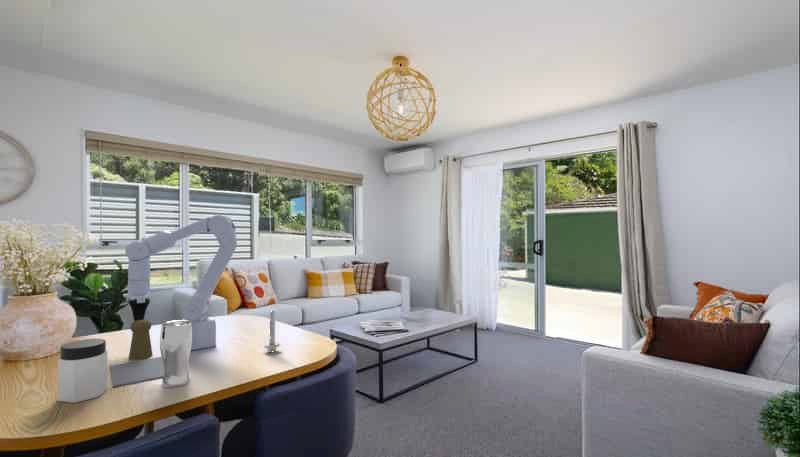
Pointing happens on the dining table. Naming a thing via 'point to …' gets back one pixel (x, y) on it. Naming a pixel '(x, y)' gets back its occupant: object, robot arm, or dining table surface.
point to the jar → (82, 370)
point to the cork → (140, 340)
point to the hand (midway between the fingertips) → (138, 322)
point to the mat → (136, 371)
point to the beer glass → (175, 352)
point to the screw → (272, 335)
